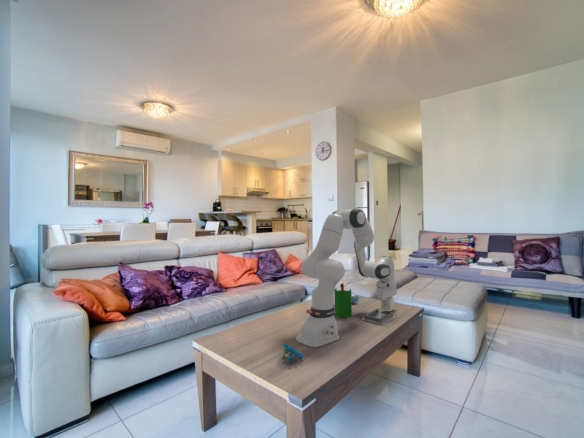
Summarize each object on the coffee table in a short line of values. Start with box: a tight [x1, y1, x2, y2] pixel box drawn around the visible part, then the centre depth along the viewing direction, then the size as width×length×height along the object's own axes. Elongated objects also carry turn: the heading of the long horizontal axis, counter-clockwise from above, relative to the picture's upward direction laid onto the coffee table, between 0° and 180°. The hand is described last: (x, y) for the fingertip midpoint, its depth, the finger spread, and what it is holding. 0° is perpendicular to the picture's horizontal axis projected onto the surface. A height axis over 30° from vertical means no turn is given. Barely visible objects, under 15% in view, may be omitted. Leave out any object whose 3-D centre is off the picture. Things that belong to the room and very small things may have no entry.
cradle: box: [361, 308, 396, 326], centre depth 160 cm, size 15×13×3 cm
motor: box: [334, 282, 353, 319], centre depth 168 cm, size 10×9×20 cm
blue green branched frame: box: [281, 343, 305, 364], centre depth 115 cm, size 11×6×10 cm
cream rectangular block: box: [380, 296, 395, 312], centre depth 171 cm, size 5×6×7 cm
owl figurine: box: [334, 290, 361, 307], centre depth 194 cm, size 28×9×15 cm
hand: (387, 304), depth 171 cm, fingers closed on cream rectangular block, 5 cm apart
